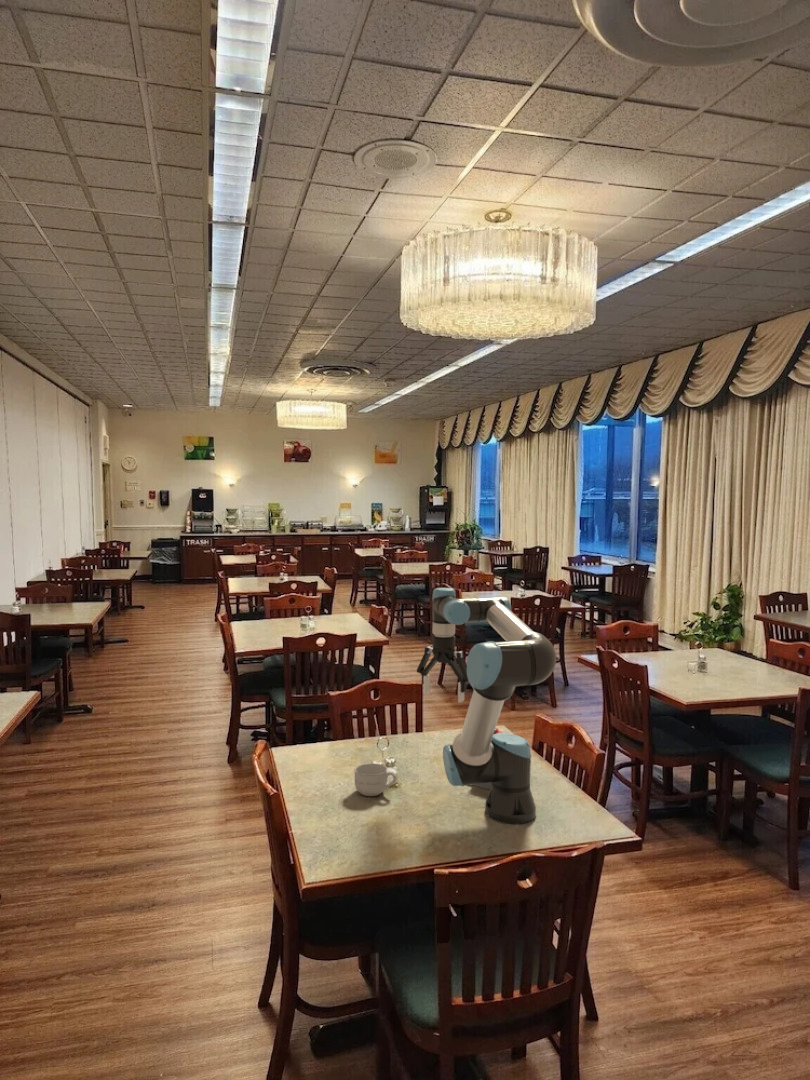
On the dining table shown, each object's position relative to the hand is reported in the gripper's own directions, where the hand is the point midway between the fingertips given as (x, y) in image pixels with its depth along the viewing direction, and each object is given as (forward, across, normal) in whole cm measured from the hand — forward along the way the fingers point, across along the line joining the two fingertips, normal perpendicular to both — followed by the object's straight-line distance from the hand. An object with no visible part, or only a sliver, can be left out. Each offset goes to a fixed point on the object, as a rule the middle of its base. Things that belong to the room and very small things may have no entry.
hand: (443, 697), depth 217 cm
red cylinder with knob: (+23, -9, -20) cm, 31 cm away
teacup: (+29, +13, +20) cm, 38 cm away
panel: (+29, -11, -17) cm, 35 cm away
